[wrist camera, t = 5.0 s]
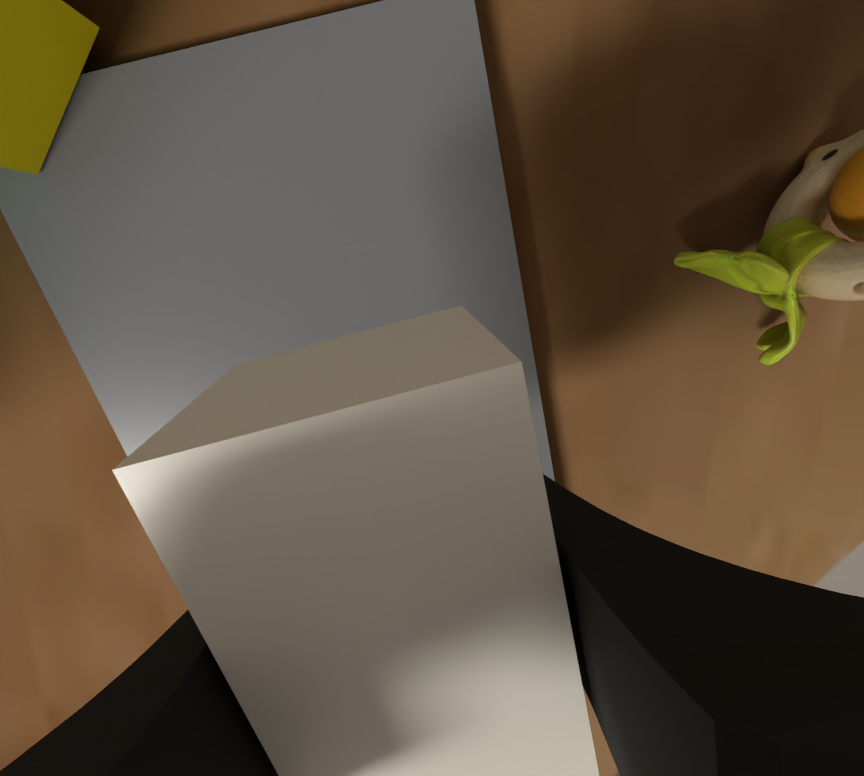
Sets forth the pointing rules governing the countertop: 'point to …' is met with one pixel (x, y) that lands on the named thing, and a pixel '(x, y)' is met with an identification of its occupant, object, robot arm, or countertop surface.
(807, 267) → the bird rattle
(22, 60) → the building blocks toy
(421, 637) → the cream brick
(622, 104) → the countertop surface
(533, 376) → the baseplate
